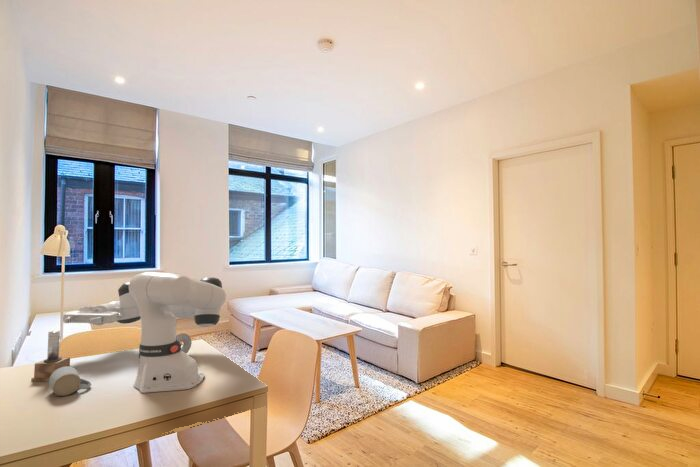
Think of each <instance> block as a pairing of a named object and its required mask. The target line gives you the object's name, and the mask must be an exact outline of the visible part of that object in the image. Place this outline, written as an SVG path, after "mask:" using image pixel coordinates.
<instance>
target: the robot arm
mask: <svg viewBox="0 0 700 467" xmlns="http://www.w3.org/2000/svg"><path fill="white" fill-rule="evenodd" d="M117 291H118V297H119V300H115V301H114V300H113V301H110V302H107V303H101V304H97V305H92V306H83V307H80V308H79V309H75V310H71V311H69V312H65V313H64V314H63V316H62V321H63V323H64V324H89V325H90V324H91V325H94V326H102V325H105V324H113V323H115V322H117V323H120V324H123V325H124V324H125V325H126V324H131V323H135V322H137V321H140V323H141V324H140V327H141V328H140V333H141V335H140V339H141V340H140V343H139V348H138V359H139V364H138V369H137V373H136V374H137V375H136V378H135V380H134V384H133V387H134V388H135V389H136V390H139V392H140V393H143V394H144V393H156V392H167V391H168V392H169V391H170V392H171V391H182V390H189V389H192V388H195V387H196V386H197V384H198V385H199V384H200V383H201V382H202V381H203V380H204V379H203V378H205V372H203V371H199V367H198V362H197V360H196V359H195V358H193V357H191V356H190V355H188V354H187V353H184V352H183V351H181V348H182V346H183V341H181V342H180V343H179V342H178V341H177V340H176V336H177V326H178V325H177V324H178V321H177V319H194V323H195V324H196V326H199V327H203V328H209V327H210V328H211V327H213V326H216V325H217V324H218V323H219V321H220V319H221V318H220V317H221V315H220V314H221V311H222V310H221V308H222V307H223V305H224V304H225V302H226V297H227V295H226V291H225V290H224V289H223V283H222V281H221V280H220V279H219V278H217V277H213V276H209V277H208V276H207V277H204V278H201V279H200V280H198V279H193V278H190V277H188V276H186V275H183V274H178V273H175V272H174V273H173V272H161V271H160V272H158V271H145V272H141V273H138V274H135V275H134V276H132V278H131V280H130V281H128V282H125V283H123V284H122V285H121V286H119V288H118V289H117Z"/></svg>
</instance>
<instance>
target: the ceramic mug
mask: <svg viewBox="0 0 700 467" xmlns="http://www.w3.org/2000/svg"><path fill="white" fill-rule="evenodd" d="M48 384H49V386H50V389H51V391H52V392H53V393H54V395H56V396H58V397H59V396H60V397H66V396H70V395H72V394H74V393H75V392H76V391H77V390H78V389H79V390H89V389H90V387H91V386H92V382H91V381H89V380H86V379H83V378H81V376H80V375H79V371H78V370H77V369H76V368H74V367H72V366H70V367H69V366H65V367H61V368H59V369H57V370H55V371H54V372H53V373H52V374H51V376H50V378H49V381H48Z"/></svg>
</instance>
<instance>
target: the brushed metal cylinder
mask: <svg viewBox="0 0 700 467" xmlns="http://www.w3.org/2000/svg"><path fill="white" fill-rule="evenodd" d="M47 336H48V337H47V357H46V359H47V360H48V361H53V360H57V359H59V357H60V341H61V340H60V339H61V338H60V337H61V331H60V330H52V331H48V334H47Z"/></svg>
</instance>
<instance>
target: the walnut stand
mask: <svg viewBox="0 0 700 467" xmlns="http://www.w3.org/2000/svg"><path fill="white" fill-rule="evenodd" d="M65 366H69V367H71V357H70V356H67V357H66V356H65V357H63V356H61V357H60V356H59V359H57V360H53V361H48V360H47V358H46V359H43V360H41V361H38V362H35V363H34V371H33V372H34V373H33V374H34V375H33V377H32V378H31V382H49V378H50V376H51V374H52V373H53V372H54V371H55V370H57V369H59V368H61V367H65Z"/></svg>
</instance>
